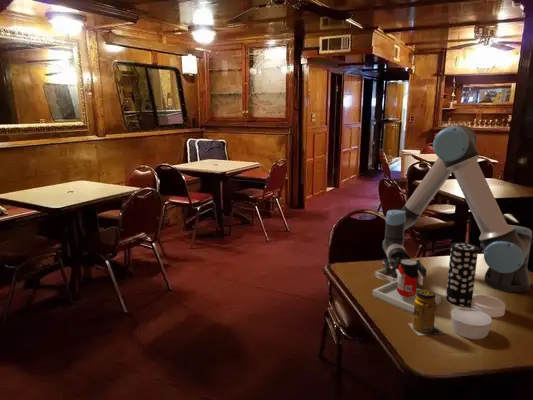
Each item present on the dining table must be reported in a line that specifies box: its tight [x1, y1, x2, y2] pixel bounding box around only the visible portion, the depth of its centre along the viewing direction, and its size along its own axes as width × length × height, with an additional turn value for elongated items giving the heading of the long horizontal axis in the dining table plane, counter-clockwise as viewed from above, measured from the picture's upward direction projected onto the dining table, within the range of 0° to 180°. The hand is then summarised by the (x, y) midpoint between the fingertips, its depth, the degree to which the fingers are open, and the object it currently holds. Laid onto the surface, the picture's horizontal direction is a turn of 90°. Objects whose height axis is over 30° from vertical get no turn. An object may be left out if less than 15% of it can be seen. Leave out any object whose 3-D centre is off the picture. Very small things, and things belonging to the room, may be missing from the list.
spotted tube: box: [445, 242, 479, 307], centre depth 142 cm, size 8×8×20 cm
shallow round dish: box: [470, 294, 506, 318], centre depth 137 cm, size 10×10×4 cm
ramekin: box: [450, 307, 493, 340], centre depth 124 cm, size 11×11×5 cm
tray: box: [371, 280, 442, 315], centre depth 144 cm, size 18×14×2 cm
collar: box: [373, 266, 397, 283], centre depth 164 cm, size 10×10×2 cm
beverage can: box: [397, 258, 418, 297], centre depth 143 cm, size 6×6×12 cm
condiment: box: [407, 288, 446, 336], centre depth 125 cm, size 7×8×12 cm
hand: (410, 280), depth 138 cm, fingers closed on beverage can, 6 cm apart
